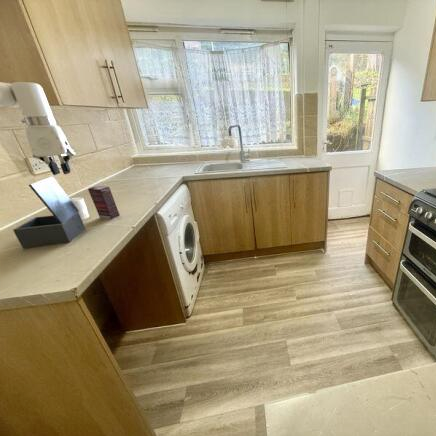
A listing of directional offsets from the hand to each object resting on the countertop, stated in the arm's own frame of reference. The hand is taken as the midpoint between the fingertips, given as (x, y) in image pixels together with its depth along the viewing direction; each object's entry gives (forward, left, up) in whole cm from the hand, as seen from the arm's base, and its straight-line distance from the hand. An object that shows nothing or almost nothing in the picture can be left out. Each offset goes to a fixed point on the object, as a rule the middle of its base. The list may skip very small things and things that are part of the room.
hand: (62, 173), depth 93 cm
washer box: (-11, +3, -27) cm, 29 cm away
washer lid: (-6, +1, -10) cm, 12 cm away
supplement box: (+6, +19, -27) cm, 34 cm away
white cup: (-7, +26, -27) cm, 38 cm away
